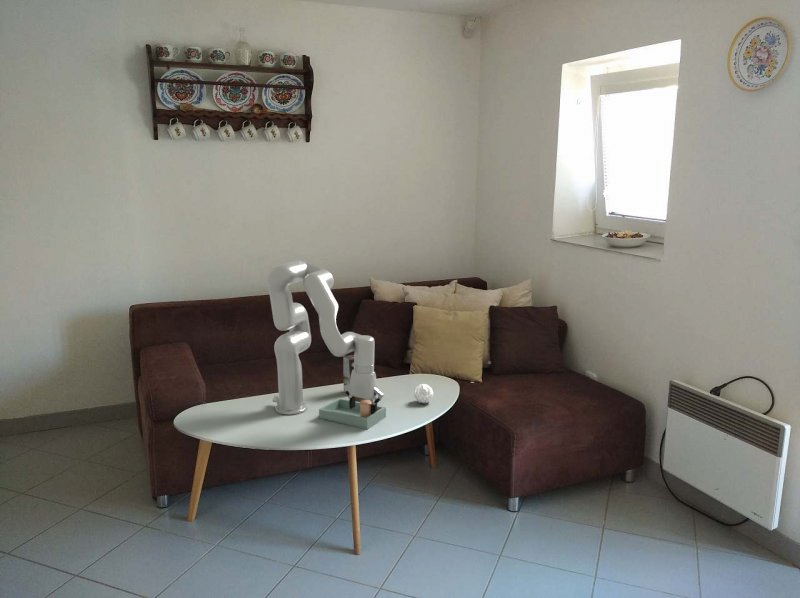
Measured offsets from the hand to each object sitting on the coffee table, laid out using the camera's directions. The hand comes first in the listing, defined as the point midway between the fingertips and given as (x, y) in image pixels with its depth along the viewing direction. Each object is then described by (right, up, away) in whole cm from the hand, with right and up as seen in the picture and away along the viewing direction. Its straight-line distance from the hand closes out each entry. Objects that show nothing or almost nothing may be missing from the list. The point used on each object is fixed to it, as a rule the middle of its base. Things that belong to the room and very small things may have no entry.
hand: (362, 410), depth 242 cm
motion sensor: (+24, 0, +19) cm, 31 cm away
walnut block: (-1, -1, +18) cm, 18 cm away
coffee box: (-5, +2, +33) cm, 33 cm away
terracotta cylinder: (+1, -3, 0) cm, 4 cm away
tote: (-4, -3, +3) cm, 6 cm away
